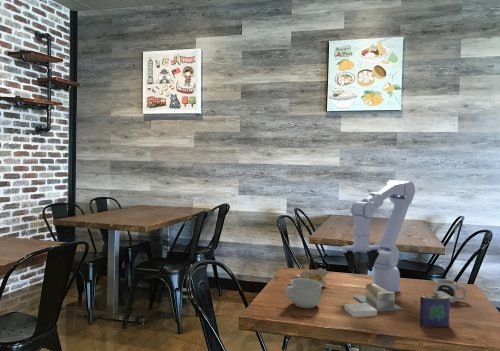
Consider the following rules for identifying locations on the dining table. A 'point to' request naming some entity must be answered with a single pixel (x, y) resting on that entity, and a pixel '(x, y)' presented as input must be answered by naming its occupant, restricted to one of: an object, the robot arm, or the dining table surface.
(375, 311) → the tile
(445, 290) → the mug
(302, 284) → the teacup
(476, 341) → the dining table surface
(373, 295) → the pusher
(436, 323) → the flask
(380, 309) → the mat
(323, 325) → the dining table surface
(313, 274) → the decorative flower
